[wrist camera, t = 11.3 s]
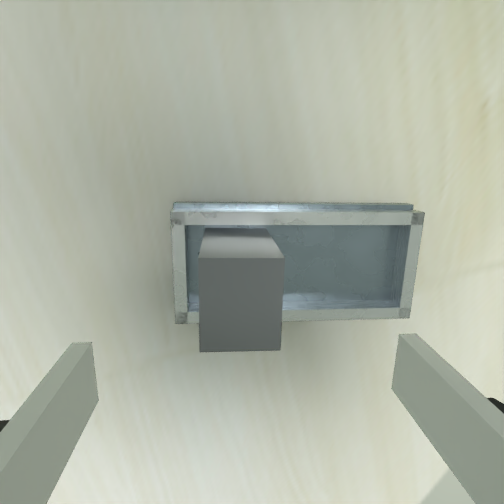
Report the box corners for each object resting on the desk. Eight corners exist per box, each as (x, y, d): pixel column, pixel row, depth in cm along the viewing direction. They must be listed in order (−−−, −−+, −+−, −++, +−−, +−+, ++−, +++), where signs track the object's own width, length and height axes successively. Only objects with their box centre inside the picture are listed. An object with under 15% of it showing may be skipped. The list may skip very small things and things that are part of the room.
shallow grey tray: (175, 201, 29) (170, 206, 26) (407, 203, 30) (425, 207, 28) (179, 313, 31) (175, 328, 29) (393, 309, 33) (408, 322, 30)
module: (205, 227, 28) (198, 258, 20) (265, 228, 29) (285, 258, 20) (205, 297, 30) (199, 353, 21) (263, 296, 30) (280, 351, 22)
